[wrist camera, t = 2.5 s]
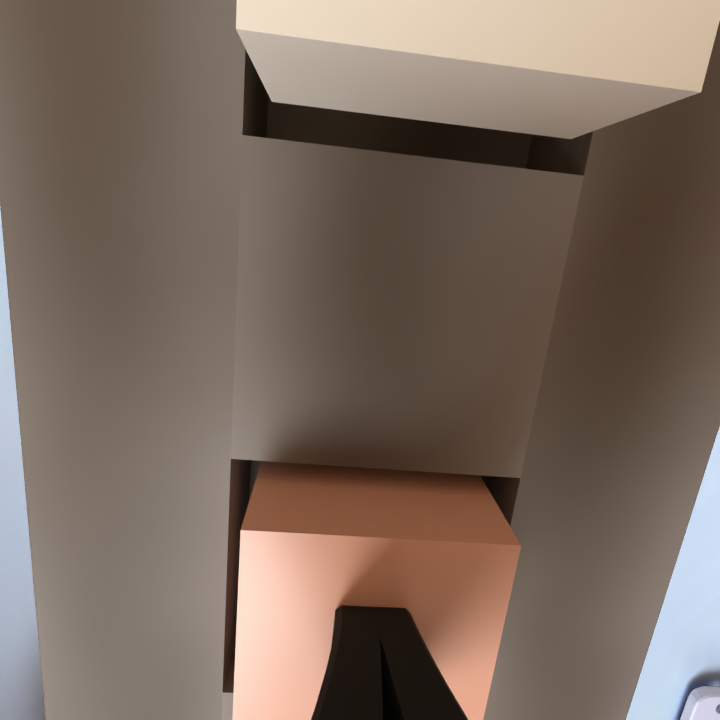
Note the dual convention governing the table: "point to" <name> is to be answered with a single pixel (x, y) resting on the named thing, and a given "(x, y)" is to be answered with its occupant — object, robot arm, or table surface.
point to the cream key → (483, 58)
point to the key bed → (338, 346)
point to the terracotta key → (366, 577)
